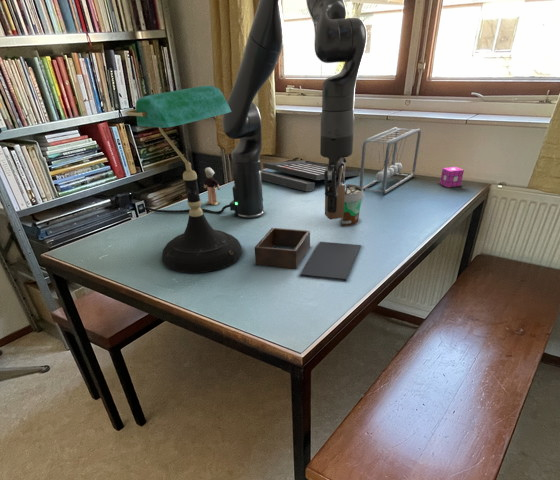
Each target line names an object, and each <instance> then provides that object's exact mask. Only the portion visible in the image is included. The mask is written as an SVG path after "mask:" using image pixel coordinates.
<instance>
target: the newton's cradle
mask: <svg viewBox="0 0 560 480" xmlns="http://www.w3.org/2000/svg"><path fill="white" fill-rule="evenodd" d="M400 130H402V131H406V132H404V133H401V134H399V133H400ZM394 134H395V135H394ZM415 134H417V136H416V144H415V150H414V156H413V164H412V171H411V174H406V173H405V174H404V173H400V172H401V171H402V170H403V165H402V163H401V162H400V160H401V157H402V155H403V151H404V149H401V145H402V142H403V140H405V141H404V143H403V146H402V148H404V147H405V144H406V141H407V138H408V137H410V136H413V135H415ZM421 135H422V131H421V129H420V128H417V129H414V128H413V129H412V128H402V127H401V128H399V127H398V126H395V127H392V128H390V129H387V130H385V131H383V132H380V133H378V134H375V135H373V136H370V137H367V138H365V140H364V141H363V143H362V147H361V149H362V150H361V151H362V152H361V162H360V175H359V186H360V187H362V189H363V191H371V192H377V193H382V194H383V195H386V194H388V193H389V192H391V191H392V190H394V189H396V188H398V187H399V186H400V185H402V184H403V183H405V182H407V181H408V180H410V179H411V178H413V177H414V175H415V173H416V167H417V161H418V154H419V150H420V149H419V148H420V141H421ZM393 136H394V137H393ZM385 137H386V138H385ZM383 138H384V140H385V141H383V140H380V139H383ZM390 138H391V139H390ZM399 142H400V145H399V148H398V144H399ZM368 143H378V144H382V149H383V151H382V152H385V156H384V161H383V166H382V170H379V171H378V172H377V173H376V174H375V179H374V180H372V181H371V182H369V183H367V184H365V185H364V171H365V159H366V147H367V144H368ZM385 144H387V146H386V149H385V146H384V145H385ZM390 149H391V151H390ZM400 149H401V153H400V156H399V160H398V155H399V151H400ZM380 155H381V153H380V152H378V160H379V162H381V159H380V158H381V156H380ZM390 156H392V160H391V164H390V159H391V157H390ZM397 160H398V161H397ZM395 175H396V176H397V175H399V176H404V178H403V179H401V180H399V181H398V182H396V183H395V184H393V185H392V186H390V187H388V188H386V186H387V180H388V179H389V178H392V177H393V176H395ZM405 176H406V177H405ZM378 183H382V185H381V190H378V189H377V190H376V189H372V188H371V189H370V187H372V186H373V185H376V184H378ZM363 185H364V186H363Z"/></svg>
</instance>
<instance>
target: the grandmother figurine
mask: <svg viewBox="0 0 560 480" xmlns="http://www.w3.org/2000/svg"><path fill="white" fill-rule="evenodd" d="M204 173H205V177H206V178H205V179H204V182H203V189H207V198H208V200H207V201H206V205H212V206H217V205H219V202H218V198H217V197H218V196H217V191H220V190H221V187H220V184H219V182H218V181H217V180H216V179H215V178H214V177H213V176H214V175H215V173H216V172H215V171H214V169H212V168H211V167H205V168H204ZM216 188H217V191H216Z"/></svg>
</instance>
